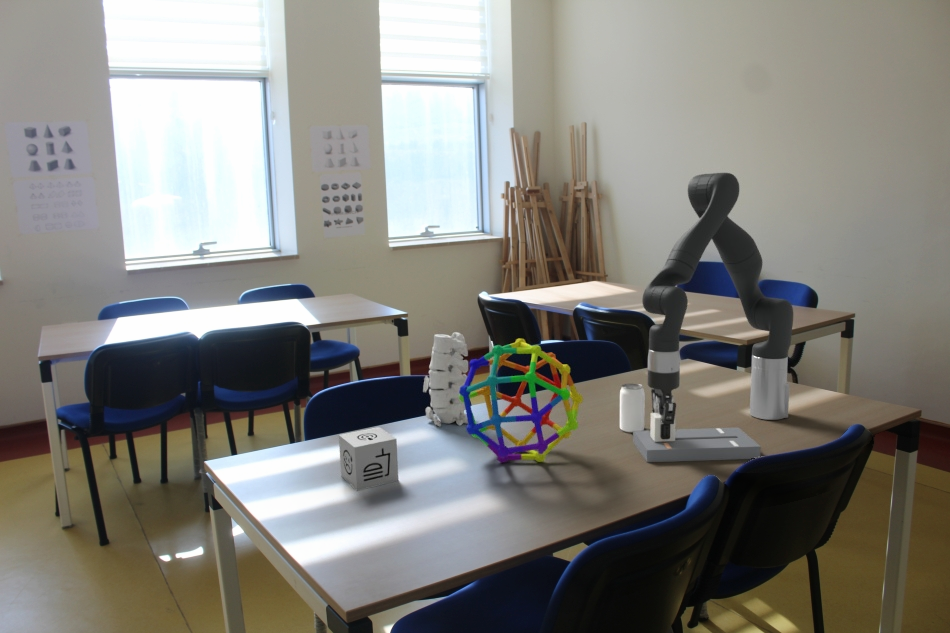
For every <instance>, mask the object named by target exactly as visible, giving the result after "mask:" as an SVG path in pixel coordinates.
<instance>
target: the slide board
mask: <svg viewBox="0 0 950 633" xmlns="http://www.w3.org/2000/svg"><path fill="white" fill-rule="evenodd" d="M632 443H633V444H634V445H635V447H636V448H637V450H638V451H639V454H641V456H642V458H643V459H644V460H645V462H646V463H660V462H661V463H663V462H664V463H665V462H666V463H667V462H693V461H695V462H697V461H698V462H699V461H700V462H701V461H720V460H721V461H722V460H723V461H726V460H728V461H729V460H731V461H732V460H752V459H751V458H754V457H758V456H760V457H761V453H762V452H761V450H762V449H761V447H762V446H761V445H760V444H758V443H757V442H756V441H755V440H754V439H753V438H751V437H750V436H749V435H748V434H747V433H746V432H744V430H742V429H741V428H740V427H713V428H681V429H680V428H678V429H676V428H675V441H662V442H654V440H653V439H652V438H651V436H650V430H649V429H648V430H647V429H646V430H645V429H644V430H643V431H633V433H632Z"/></svg>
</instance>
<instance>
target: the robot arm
mask: <svg viewBox="0 0 950 633" xmlns="http://www.w3.org/2000/svg"><path fill="white" fill-rule="evenodd" d="M687 195H688V200H689V203H690V205H691V207H692V208H693V211H694V213H695V214H696V215H697V217H698V218H699V219H698V220H697V221H696V222H695V223H694V224H693V225H692V226H691V227H690V228H689V229H687V231H686V232H684V233H683V234H682V235H681V236H680V238H679V239H677V241H676V243H675V244H674V245H673V247H672V249H671V251H670V254H669V255H668V257H667V259H666V261H665V263H664V266H663V267H662V268H661V269H660V270H659V271H658V272H657V274H656V275H655V276H654V277H653V278H652V280H650V282H649V283H648V284H647V286H646V288H645V289H644V292H643V294H642V306H643V308H644V310H645V311H646V312H648V314H649V313H650V314H654V315H660V316H661V315H662V316H664V319H663V322H662V323H658V324H657V323H656V324H653V325H652V326H651V327H650V328H649V331H648V332H649V333H648V335H649V336H648V355H647V386H648V387H649V388H651V390H650V393H651V394H650V395H651V404H652V406H651V407H652V410H651V411H652V413H658V414H659V415H660V423H661V432H660V437H661V439H670V424H674V418H675V417H676V409H677V403H676V402H674V401H675V400H674V395H672V394H673V393H672V391H673V390H676V389H678V388H679V387H680V383H681V382H680V380H681V379H680V378H681V375H680V374H681V373H680V372H681V355H680V333H681V328H682V326H683V322H684V318H685V315H686V312H687V308H688V301H689V300H688V295H687V293H686V291H685V290H684V289H683V288H681V287H679V285H684V284H687V283H689V282H690V281H691V279H692V278H693V276H694V274H695V272H696V270H697V267H698V265H699V263H700V260H701V258H702V257H703V255H704V253H705V250H706V249H707V247H708V245H709V244H710V242H711V241H712V242H713V244H714V246H715V248H716V250H717V252H718V254H719V256H720V259H721V261H722V263H723V265H724V268H725V269H726V271H727V273H728V275H729V276H730V279H731V281H732V283H733V285H734V289H735V290H736V292H737V294H738V298H739V300H740V303H741V306H742V309H743V312H744V314H745V315H744V316H745V317H746V320H747V322H748V324H749V325H750V326H751V327H752V328H754V329H755V330H759V331H764V332H768V337H767V340H764V341H760V342H756V343H754V344H753V346H752V349H751V372H750V373H751V374H750V376H751V377H750V397H749V398H750V400H749V414H750V416H752V417H754V418H757V419H762V420H770V421H775V420H782V419H784V418H785V419H786V418H787V419H788V418H789V406H790V387H791V386H790V384H789V382H788V363H789V362H788V359H789V356H788V355H789V350H790V347H791V343H792V336H793V334H792V331H793V325H794V324H793V323H794V307H793V305H792V303H791V302H790V301H789V300H788V299H784V298H776V297H768V296H765V295H764V293H762V291H761V288H760V286H759V278H760V275H761V272H762V270H763V257H762V255H761V252H760V251H759V247H758V246H757V243H756V242H755V240H754V238H753V237H752V236H751V235H750V234H749V233H748V232H747V231H746V230H745V229H744V228H742V227H741V226H739V225H738V224H737V223H736V222H735V221H733V220H732V219H731V218H730V217H729V214H730V213H731V212H732V210H733V208H734V207H735V205H736V203H737V202H738V199H739V196H740V183H739V180H738V179H737V177H736V175H734V174H732V173H730V172H713V173H703V174H698V175H695V176H693V177H692V178H691V179H690V180H689V182H688V185H687ZM667 417H668V419H666V418H667Z"/></svg>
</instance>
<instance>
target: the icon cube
mask: <svg viewBox="0 0 950 633" xmlns="http://www.w3.org/2000/svg"><path fill="white" fill-rule="evenodd" d="M338 444H339V459H340V476H341V477H342V478H343V479H344V480H345V481H346V482H347V483H348V484H349V485H350V486H351V487H353V489H355V490H356V491H362V490H365V489H369V488H374V487H377V486H382V485H385V484H391V483H394V482H398V481H399V467H398V466H399V465H398V464H399V462H398V445H397V438H396V437H395V436H393V435H392V434H390V433H389V432H387V431H386V430H385V429H383V428H381V427H380V426H376V427H373V428H368V429H367V428H366V429H363V430H358V431H352V432H347V433H342V434H341V433H340V434H338Z"/></svg>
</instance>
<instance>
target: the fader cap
mask: <svg viewBox="0 0 950 633" xmlns="http://www.w3.org/2000/svg"><path fill="white" fill-rule="evenodd" d="M666 419H668V417H667V418H666ZM676 419H677V418H676V416H675V418H674V424H670V439H661V437H660V432H661V423H660V415H659V414H658V413H653V412H650V426H649V427H650V436H651V438H652V439H653V440H654V442H662V441H675V429H676Z"/></svg>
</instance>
